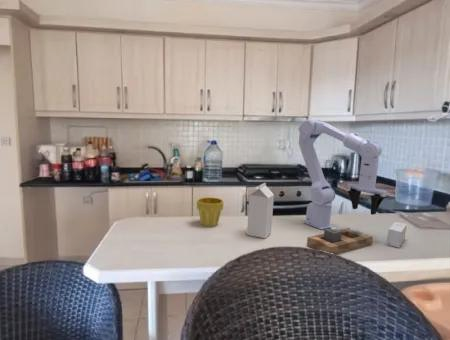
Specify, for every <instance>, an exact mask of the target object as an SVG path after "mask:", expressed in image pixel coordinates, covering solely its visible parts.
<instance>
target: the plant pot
mask: <svg viewBox="0 0 450 340" xmlns="http://www.w3.org/2000/svg"><path fill="white" fill-rule="evenodd" d="M196 209H197V210H198V214H199V219H200V224H201V225H202V226H203V227H210V228H211V227H215V226H218V225H219V221H220V217H221V212H222V211H223V209H224V199H222V198H219V197H213V196H212V197H210V196H209V197H208V196H206V197H201V198H200V197H199V198H198V199H197V200H196Z"/></svg>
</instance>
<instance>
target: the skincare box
mask: <svg viewBox="0 0 450 340" xmlns="http://www.w3.org/2000/svg"><path fill="white" fill-rule="evenodd" d="M406 231H407V223H402V222H398V221H394V222H393V223H392V224H391V225H390V227H389V228H388V231H387V238H386V245H387V246H390V247H395V248H400V247H401V246H402V244H403V242H404V240H405V239H406V238H405V237H406Z"/></svg>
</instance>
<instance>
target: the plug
mask: <svg viewBox="0 0 450 340" xmlns="http://www.w3.org/2000/svg"><path fill="white" fill-rule="evenodd" d="M339 230H340V229H339ZM339 230H338V229H337V228H336V227H335V226H334V227H331V228H326V229H323V234H324V239H323V240H326V241H328V242H330V243H336V242H340V241H341V235H342V231H339Z"/></svg>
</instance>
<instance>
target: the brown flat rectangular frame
mask: <svg viewBox="0 0 450 340" xmlns="http://www.w3.org/2000/svg"><path fill="white" fill-rule="evenodd" d="M339 231H342V235H341V241H340V242H336V243H330V242H328V241H326V240H323V239H324V233H320V234H315V235H311V236H308V237H307V238H306V239H307V240H306V241H307V242H306V246H307V247H309V248H311V249H314V250H315V249H317V250H316V251H318V250H322V251H326V252H329V253H333V254H337V255H340V254H344V253H347V252H350V251H351V252H352V251H355V250H358V249H362V248H366V247H368V246H371V245H373V238H374V237H373V236H371V235H369V234H367V233H365V232H362V231H359V230H356V229H354V228H350V227H347V228H342V229H339ZM337 255H336V256H337Z"/></svg>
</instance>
